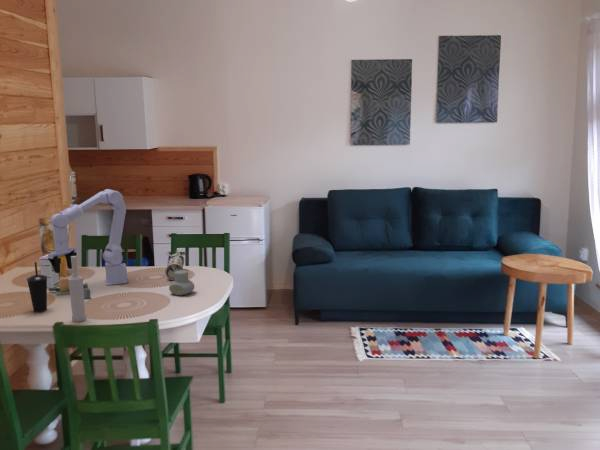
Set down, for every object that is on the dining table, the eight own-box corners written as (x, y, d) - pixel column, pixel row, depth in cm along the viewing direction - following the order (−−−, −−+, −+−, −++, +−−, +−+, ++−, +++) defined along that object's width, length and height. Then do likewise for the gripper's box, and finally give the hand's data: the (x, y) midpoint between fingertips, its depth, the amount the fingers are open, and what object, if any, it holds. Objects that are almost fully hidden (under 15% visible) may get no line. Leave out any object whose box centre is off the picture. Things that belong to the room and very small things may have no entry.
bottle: (81, 316, 219) (75, 254, 215) (89, 318, 216) (83, 256, 212) (69, 320, 215) (63, 257, 210) (77, 322, 212) (71, 258, 208)
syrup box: (53, 288, 257) (50, 257, 254) (41, 287, 258) (38, 257, 255) (60, 284, 262) (58, 254, 260) (49, 284, 263) (46, 254, 261)
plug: (70, 289, 253) (69, 278, 252) (67, 292, 249) (67, 281, 248) (50, 290, 252) (49, 279, 251) (47, 293, 248) (46, 282, 247)
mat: (72, 288, 255) (72, 288, 255) (74, 293, 249) (74, 292, 249) (56, 291, 252) (56, 290, 252) (57, 295, 246) (57, 294, 246)
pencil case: (168, 270, 286) (167, 251, 285) (184, 269, 288) (184, 251, 286) (165, 282, 265) (164, 262, 263) (183, 281, 267) (182, 261, 265)
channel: (87, 291, 251) (86, 283, 250) (90, 298, 241) (89, 289, 240) (73, 293, 249) (72, 284, 248) (75, 300, 238) (75, 291, 237)
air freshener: (166, 295, 245) (165, 273, 243) (176, 289, 253) (175, 268, 251) (187, 297, 242) (186, 275, 240) (197, 292, 249) (196, 270, 247)
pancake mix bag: (48, 270, 288) (43, 216, 282) (75, 274, 280) (71, 219, 275) (37, 273, 282) (32, 219, 277) (65, 277, 274) (60, 221, 269)
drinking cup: (34, 307, 230) (29, 260, 226) (53, 306, 231) (48, 259, 227) (26, 313, 223) (21, 265, 219) (46, 313, 223) (41, 264, 220)
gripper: (55, 244, 239) (58, 275, 241) (80, 238, 252) (82, 267, 254) (43, 243, 241) (46, 274, 244) (67, 237, 254) (70, 266, 257)
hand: (64, 270), depth 249 cm, fingers open, 7 cm apart
